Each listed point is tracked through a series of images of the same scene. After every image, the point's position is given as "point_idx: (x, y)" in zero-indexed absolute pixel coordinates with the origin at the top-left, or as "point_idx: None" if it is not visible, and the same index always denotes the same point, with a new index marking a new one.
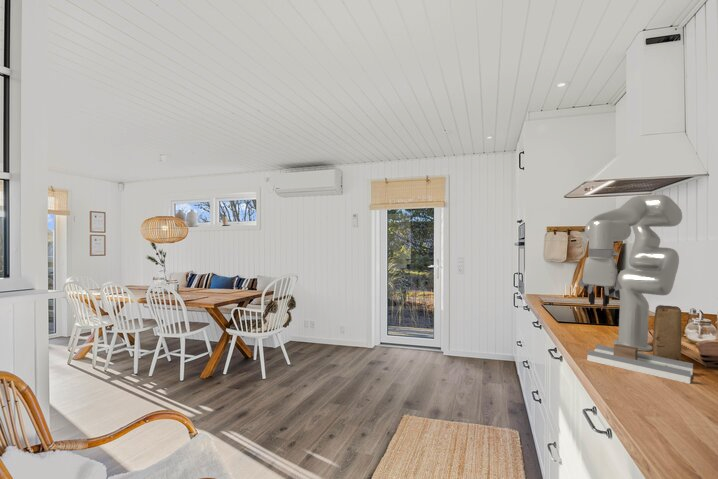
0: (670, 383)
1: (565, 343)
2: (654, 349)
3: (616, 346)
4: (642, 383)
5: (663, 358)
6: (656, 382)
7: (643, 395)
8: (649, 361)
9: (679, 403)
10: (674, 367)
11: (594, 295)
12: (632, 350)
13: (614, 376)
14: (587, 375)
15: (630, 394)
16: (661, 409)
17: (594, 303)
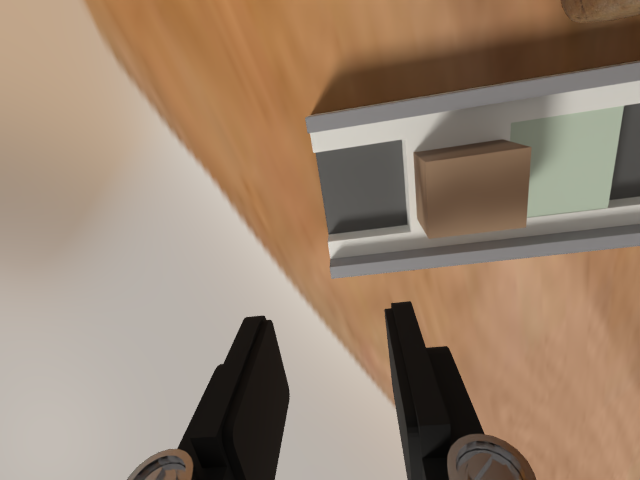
0: (609, 275)
1: (131, 53)
2: (607, 4)
3: (439, 233)
4: (531, 347)
5: (631, 80)
6: (568, 303)
7: (541, 430)
8: (552, 123)
9: (620, 417)
10: None
11: (245, 425)
12: (512, 227)
13: (454, 352)
14: None
15: (514, 445)
16: (579, 474)
17: (270, 321)
